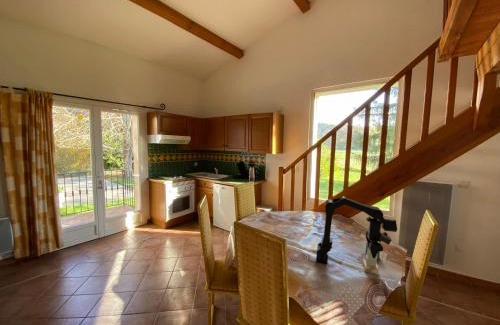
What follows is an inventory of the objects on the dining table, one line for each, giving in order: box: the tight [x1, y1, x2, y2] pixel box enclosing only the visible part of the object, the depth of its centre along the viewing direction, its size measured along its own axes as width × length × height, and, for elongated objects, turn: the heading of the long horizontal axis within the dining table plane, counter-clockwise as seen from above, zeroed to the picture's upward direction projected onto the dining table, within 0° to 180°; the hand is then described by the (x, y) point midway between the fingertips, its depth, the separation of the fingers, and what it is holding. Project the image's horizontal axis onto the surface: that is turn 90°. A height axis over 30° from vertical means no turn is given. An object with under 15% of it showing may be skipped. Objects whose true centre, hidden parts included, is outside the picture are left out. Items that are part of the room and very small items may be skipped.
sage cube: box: [366, 248, 378, 261], centre depth 125 cm, size 4×4×4 cm
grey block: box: [364, 253, 378, 267], centre depth 126 cm, size 5×5×4 cm
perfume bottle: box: [365, 242, 381, 259], centre depth 142 cm, size 6×6×12 cm
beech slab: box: [362, 259, 380, 275], centre depth 127 cm, size 7×7×4 cm
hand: (372, 253), depth 125 cm, fingers open, 9 cm apart
